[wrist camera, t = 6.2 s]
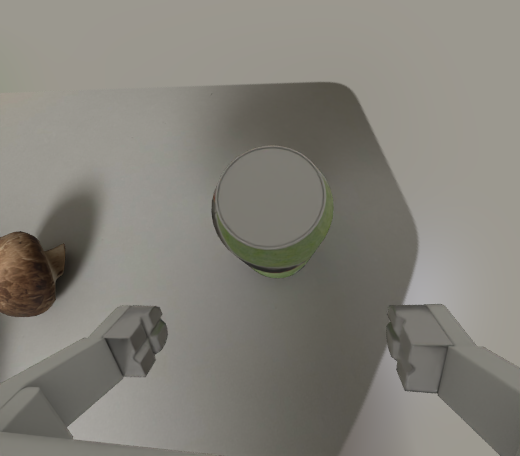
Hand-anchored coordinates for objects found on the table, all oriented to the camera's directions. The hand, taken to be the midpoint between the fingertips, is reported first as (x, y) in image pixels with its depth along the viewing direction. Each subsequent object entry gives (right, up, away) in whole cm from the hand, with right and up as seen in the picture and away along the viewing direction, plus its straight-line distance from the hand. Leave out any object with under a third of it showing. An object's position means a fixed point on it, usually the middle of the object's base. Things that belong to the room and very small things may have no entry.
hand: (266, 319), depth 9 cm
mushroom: (-21, -2, +17) cm, 27 cm away
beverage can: (+2, +1, +13) cm, 13 cm away
